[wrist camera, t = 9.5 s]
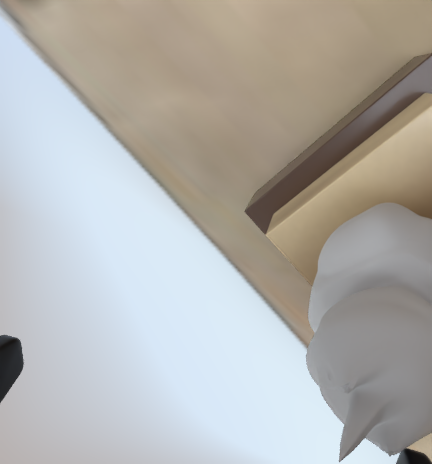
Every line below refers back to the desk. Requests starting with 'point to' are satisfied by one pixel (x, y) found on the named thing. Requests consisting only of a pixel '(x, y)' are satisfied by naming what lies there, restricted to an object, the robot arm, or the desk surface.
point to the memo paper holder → (354, 169)
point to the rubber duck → (375, 328)
